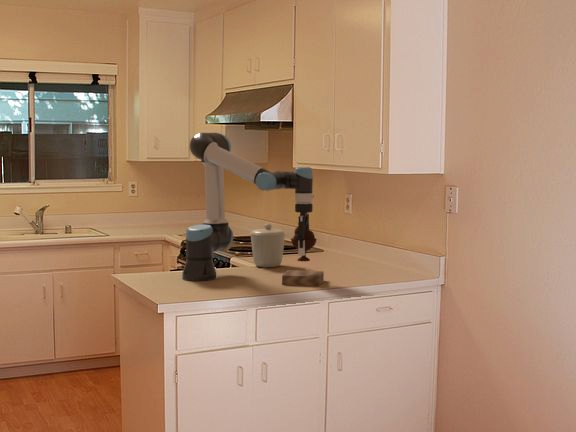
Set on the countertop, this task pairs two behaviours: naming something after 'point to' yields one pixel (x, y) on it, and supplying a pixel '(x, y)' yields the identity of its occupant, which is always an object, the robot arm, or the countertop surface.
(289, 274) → the walnut base
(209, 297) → the countertop surface
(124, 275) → the countertop surface
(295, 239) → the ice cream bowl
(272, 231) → the canister
